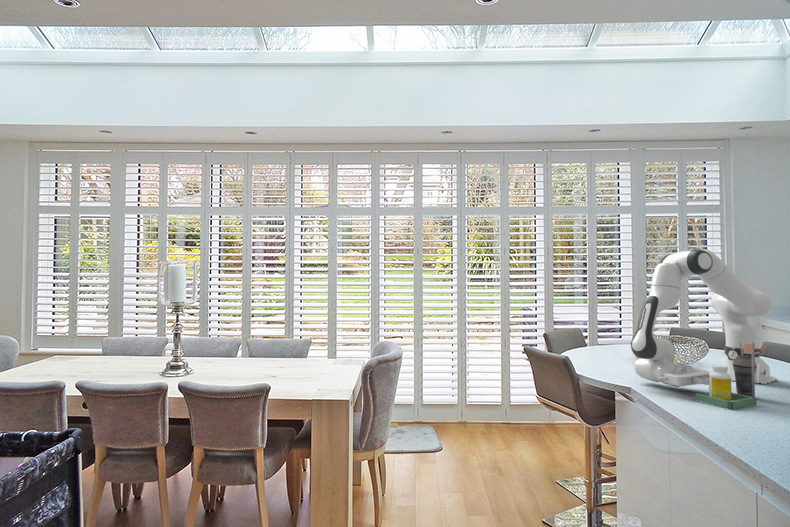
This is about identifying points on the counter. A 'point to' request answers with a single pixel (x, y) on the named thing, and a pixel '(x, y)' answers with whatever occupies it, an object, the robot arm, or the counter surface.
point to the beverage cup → (743, 373)
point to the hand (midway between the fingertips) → (710, 382)
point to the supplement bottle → (720, 383)
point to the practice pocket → (737, 399)
